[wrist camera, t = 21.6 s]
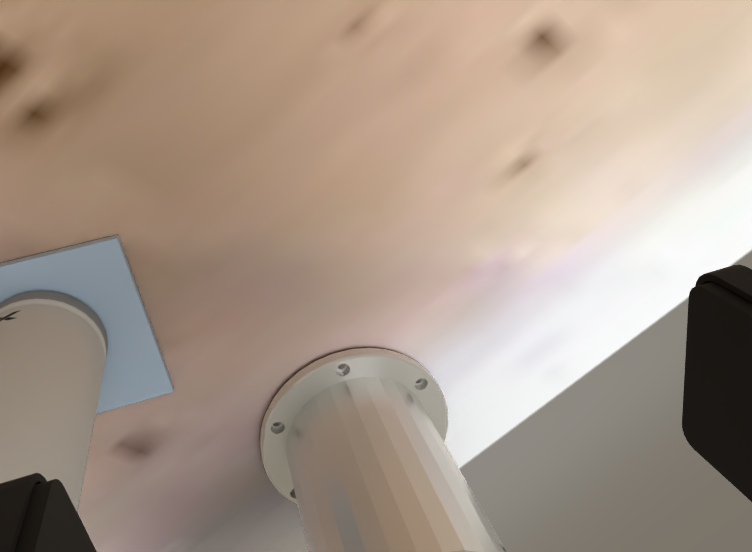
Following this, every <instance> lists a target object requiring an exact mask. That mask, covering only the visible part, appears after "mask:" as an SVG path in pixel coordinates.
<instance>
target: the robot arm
mask: <svg viewBox="0 0 752 552" xmlns="http://www.w3.org/2000/svg"><path fill="white" fill-rule="evenodd" d="M341 364H342V365H341ZM339 365H340V366H339ZM447 428H448V409H447V406H446V402H445V398H444V395H443V393H442V392H441V390H440V388H439V386H438V384H437V383H436V381H435V380H434V379H433V377H432V376H431V374H430V373H429V372H428V371H427V370H426V369H425V368H424V367H423V366H422V365H420V364H419V363H418V362H417V361H415V360H413V359H411V358H409V357H408V356H406V355H404V354H401V353H397V352H394V351H391V350H387V349H377V348H359V349H350V350H346V351H342V352H338V353H334V354H331V355H329V356H326V357H324V358H322V359H319V360H317V361H315V362H313V363H311V364H310V365H308V366H307V367H305V368H304V369H302V370H300V371H299V372H298V373H297V374H295V375H294V376H293V377H292V378H291V379H290V380H289V381H288V382H286V383H285V384H284V386H283V387H282V388H281V389H280V391H279V392H278V393H277V394H276V396H275V397H274V398H273V400H272V402H271V404H270V406H269V408H268V410H267V411H266V413H265V416H264V420H263V423H262V427H261V434H260V449H261V456H262V462H263V465H264V468H265V471H266V474H267V476H268V478H269V479H270V481H271V483H272V484H273V486H274V487H275V488H276V489H277V490H278V491H279V492H280V493H281V494H282V495H283V496H284V497H285V498H286V499H288V500H290V501H291V502H293V503H294V504H296V505H298V508H299V512H300V517H301V521H302V526H303V530H304V534H305V539H306V543H307V547H308V552H507V551H506V549H505V548H504V546H503V544H502V542H501V541H500V539H499V537H498V536H497V534H496V532H495V530H494V529H493V527H492V525H491V523H490V522H489V520H488V518H487V516H486V515H485V513H484V511H483V509H482V508H481V506H480V504H479V503H478V501H477V499H476V497H475V496H474V494H473V492H472V490H471V489H470V487H469V485H468V483H467V482H466V480H465V478H464V476H463V475H462V473H461V471H460V469H459V468H458V466H457V464H456V462H455V461H454V459H453V457H452V456H451V454H450V452H449V450H448V449H447V447H446V445H445V443H444V441H445V439H446V433H447ZM682 428H683V432H684V435H685V437H686V439H687V441H688V442H689V444H690V445H691V446H692V447H693V448H694V450H695V451H697V452H698V453H699V454H700V455H701V456H702V457H703V458H704V459H705V460H707V461H708V462H709V463H710V464H711V465H712V466H713V467H714V468H715V469H716V470H718V471H719V472H720V473H721V474H722V475H723V476H724V477H725V478H726V479H728V481H730V482H731V483H732V484H733V485H734V486H735V487H736V488H737V489H739V491H741V492H742V493H743V494H744V495H745V496H746V497H747V498H748V499H749V500H751V501H752V270H751V269H750V268H748V267H745V266H742V265H733V266H730V267H726V268H723V269H720V270H716V271H713V272H710V273H706V274H703V275H702V276H700V277H699V279H698V280H697V282H696V286H695V287H694V288H692V290H691V291H690V294H689V304H688V324H687V341H686V361H685V380H684V398H683V416H682ZM0 552H96V550H95V548H94V546H93V544H92V542H91V540H90V538H89V536H88V534H87V532H86V530H85V527H84V525H83V523H82V521H81V519H80V517H79V515H78V513H77V511H76V509H75V507H74V505H73V503H72V501H71V499H70V497H69V495H68V493H67V491H66V489H65V487H64V486H63V484H62V482H61V481H60V480H58V479H53V480H50V481H47V480H46V479H45V477H44V476H42V475H41V474H40V473H34V474H31V475H27V476H24V477H21V478H17V479H14V480H10V481H7V482H4V483H0Z"/></svg>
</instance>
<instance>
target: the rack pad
mask: <svg viewBox="0 0 752 552" xmlns="http://www.w3.org/2000/svg"><path fill="white" fill-rule="evenodd" d="M35 291H48V292H56V293H60V294H65V295H68V296H70V297H72V298H75V299H77V300H79V301H80V302H82V303H84V304H85V305H87V306H88V307H89V308H90V309H91V310H92V311H93V312H95V313H96V315H97V316H98V317H99V319H100V320H101V322H102V323H103V326H104V328H105V330H106V334H107V339H108V348H107V356H106V361H105V366H104V372H103V377H102V383H101V388H100V393H99V399H98V404H97V409H96V414H99V413H102V412H106V411H109V410H113V409H116V408H120V407H123V406H127V405H130V404H134V403H137V402H140V401H144V400H147V399H151V398H154V397H158V396H161V395H165V394H168V393H172V392H174V386H173V383H172V381H171V378H170V375H169V372H168V370H167V367H166V364H165V361H164V359H163V356H162V353H161V351H160V348H159V345H158V342H157V340H156V337H155V334H154V331H153V329H152V326H151V323H150V320H149V318H148V315H147V312H146V310H145V307H144V304H143V301H142V299H141V296H140V293H139V290H138V288H137V285H136V282H135V280H134V277H133V274H132V271H131V269H130V266H129V263H128V260H127V258H126V255H125V252H124V249H123V247H122V244H121V241H120V239H119V236H118V235H114V236H110V237H106V238H102V239H98V240H93V241H89V242H85V243H81V244H77V245H73V246H69V247H65V248H61V249H57V250H52V251H48V252H44V253H40V254H36V255H32V256H28V257H24V258H20V259H16V260H12V261H7V262H3V263H0V303H2V302H3V301H5V300H7V299H9V298H11V297H13V296H15V295H19V294H23V293H26V292H35Z"/></svg>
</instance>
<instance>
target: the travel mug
mask: <svg viewBox="0 0 752 552" xmlns="http://www.w3.org/2000/svg"><path fill="white" fill-rule="evenodd" d="M107 348H108V339H107V334H106V330H105V328H104V326H103V323H102V322H101V320H100V319H99V317H98V316H97V315H96V313H95V312H93V311H92V310H91V309H90V308H89V307H88V306H87V305H85V304H84V303H82V302H80V301H79V300H77V299H75V298H72V297H70V296H68V295H65V294H60V293H56V292H48V291H35V292H26V293H23V294H19V295H15V296H13V297H11V298H9V299H7V300H5V301H3V302H2V303H0V483H4V482H7V481H10V480H14V479H17V478H21V477H24V476H27V475H31V474H34V473H40V474H41V475H42V476H44V477H45V479H46V480H47V481H50V480H53V479H58V480H60V481H61V482H62V484H63V486H64V487H65V489H66V491H67V493H68V495H69V497H70V499H71V501H72V503H73V505H74V507H75V509H76V511H77V512H78V506H79V501H80V496H81V490H82V485H83V479H84V474H85V469H86V463H87V458H88V452H89V447H90V442H91V436H92V431H93V426H94V420H95V415H96V409H97V404H98V399H99V393H100V388H101V383H102V377H103V372H104V366H105V361H106V356H107Z"/></svg>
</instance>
